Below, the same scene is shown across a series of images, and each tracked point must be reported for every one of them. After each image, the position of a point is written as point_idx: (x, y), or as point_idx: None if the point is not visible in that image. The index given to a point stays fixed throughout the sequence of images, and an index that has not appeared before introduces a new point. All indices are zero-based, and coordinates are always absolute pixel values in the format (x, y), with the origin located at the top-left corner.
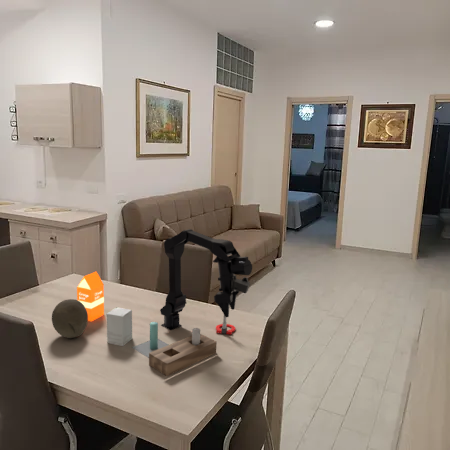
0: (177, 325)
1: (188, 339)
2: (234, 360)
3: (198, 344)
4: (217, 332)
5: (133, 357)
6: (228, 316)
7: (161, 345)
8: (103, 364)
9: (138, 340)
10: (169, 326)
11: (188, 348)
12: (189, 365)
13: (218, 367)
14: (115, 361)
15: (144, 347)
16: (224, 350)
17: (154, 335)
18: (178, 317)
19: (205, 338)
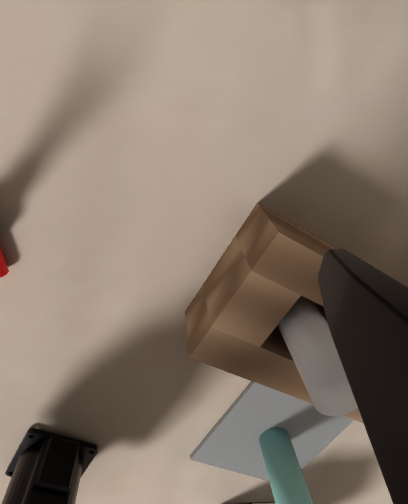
0: (61, 448)
1: (284, 373)
2: (314, 75)
3: (320, 314)
4: (5, 264)
5: (344, 455)
6: (342, 250)
7: (247, 425)
8: None
9: (222, 489)
10: (81, 465)
11: None
12: None
13: (399, 152)
14: (374, 479)
15: None
16: (205, 167)
17: (309, 494)
18: (36, 487)
19: (252, 303)
